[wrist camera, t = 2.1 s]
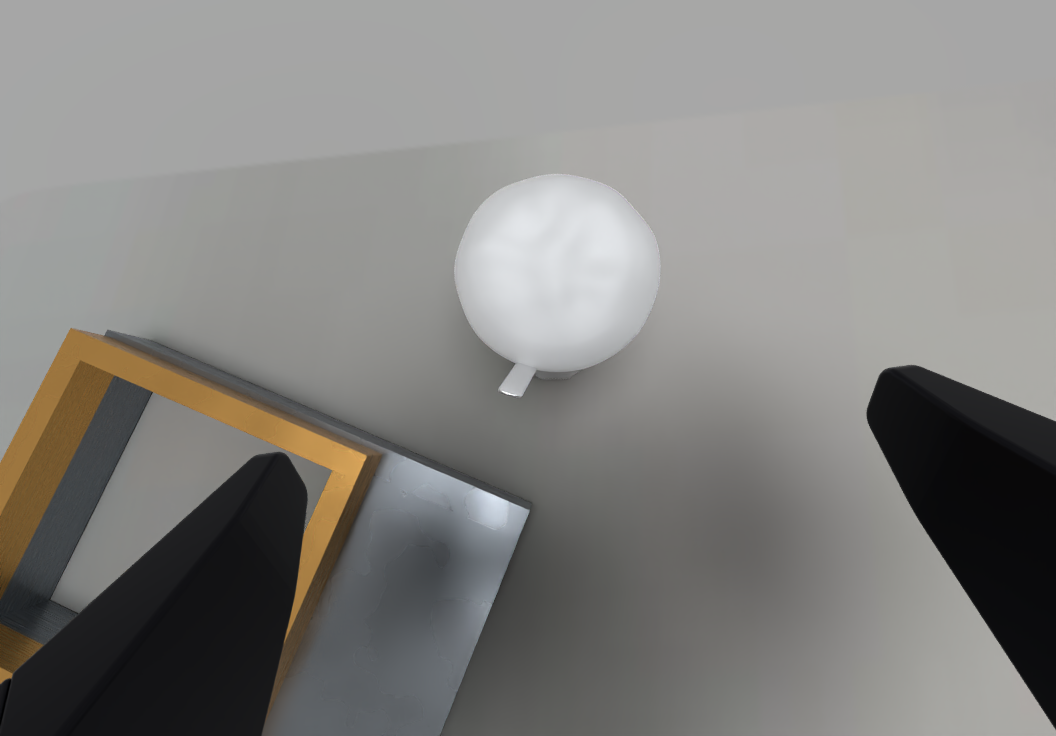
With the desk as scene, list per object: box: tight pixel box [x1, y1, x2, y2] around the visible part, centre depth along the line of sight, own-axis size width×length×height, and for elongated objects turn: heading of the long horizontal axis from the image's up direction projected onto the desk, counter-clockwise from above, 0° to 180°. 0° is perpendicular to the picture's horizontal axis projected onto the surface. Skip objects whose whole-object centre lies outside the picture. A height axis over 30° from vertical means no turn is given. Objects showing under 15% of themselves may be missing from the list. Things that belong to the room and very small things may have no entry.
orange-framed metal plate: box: [0, 328, 532, 736], centre depth 17 cm, size 18×16×4 cm
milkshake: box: [454, 174, 660, 398], centre depth 15 cm, size 4×5×10 cm
